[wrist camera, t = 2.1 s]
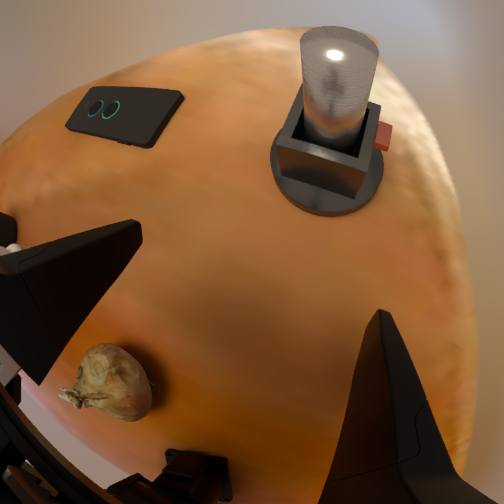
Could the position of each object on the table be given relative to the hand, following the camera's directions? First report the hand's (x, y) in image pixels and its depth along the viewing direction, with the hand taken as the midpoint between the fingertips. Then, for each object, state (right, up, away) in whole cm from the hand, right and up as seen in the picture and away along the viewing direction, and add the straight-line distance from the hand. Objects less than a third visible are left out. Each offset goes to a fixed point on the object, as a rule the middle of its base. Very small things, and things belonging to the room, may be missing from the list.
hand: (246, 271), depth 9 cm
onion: (-12, -12, +14) cm, 22 cm away
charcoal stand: (+7, +9, +14) cm, 18 cm away
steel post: (+7, +9, +12) cm, 17 cm away
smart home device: (-18, +19, +21) cm, 34 cm away
